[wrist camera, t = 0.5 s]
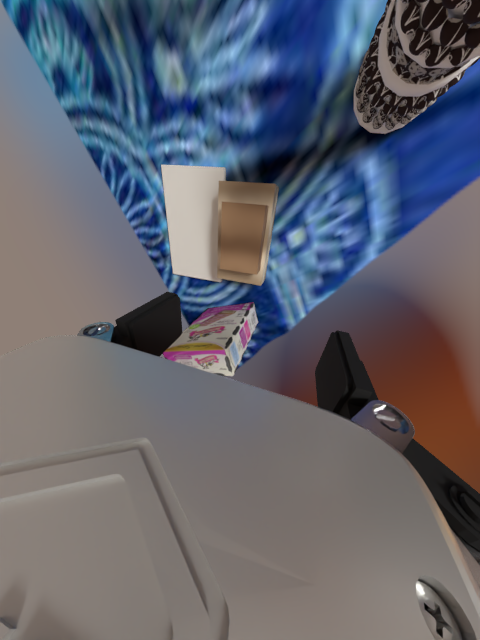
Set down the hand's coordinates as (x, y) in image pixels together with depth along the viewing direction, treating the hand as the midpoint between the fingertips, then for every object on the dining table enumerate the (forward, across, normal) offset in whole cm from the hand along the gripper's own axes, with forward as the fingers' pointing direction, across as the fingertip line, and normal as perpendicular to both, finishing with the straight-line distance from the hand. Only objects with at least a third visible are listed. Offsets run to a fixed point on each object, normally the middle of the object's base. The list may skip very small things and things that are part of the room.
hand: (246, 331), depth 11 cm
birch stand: (+25, +7, -3) cm, 26 cm away
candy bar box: (+25, +8, +13) cm, 30 cm away
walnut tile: (+21, +6, -3) cm, 22 cm away
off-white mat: (+25, +17, -2) cm, 30 cm away
